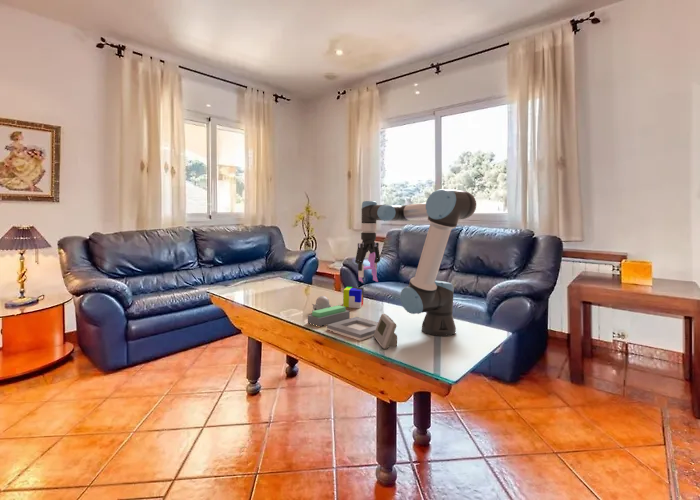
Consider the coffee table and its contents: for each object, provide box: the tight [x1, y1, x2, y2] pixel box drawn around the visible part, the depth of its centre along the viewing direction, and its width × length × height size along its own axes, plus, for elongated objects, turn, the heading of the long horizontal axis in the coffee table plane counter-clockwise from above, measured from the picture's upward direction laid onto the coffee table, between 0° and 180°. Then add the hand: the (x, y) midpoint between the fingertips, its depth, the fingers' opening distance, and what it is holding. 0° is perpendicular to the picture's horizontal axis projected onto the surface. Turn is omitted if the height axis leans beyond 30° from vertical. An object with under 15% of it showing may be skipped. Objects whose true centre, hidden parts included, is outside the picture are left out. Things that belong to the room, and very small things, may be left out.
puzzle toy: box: [342, 286, 365, 309], centre depth 216 cm, size 10×10×10 cm
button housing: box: [307, 309, 351, 327], centre depth 183 cm, size 8×21×4 cm, turn 137°
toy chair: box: [357, 252, 379, 283], centre depth 189 cm, size 8×9×15 cm
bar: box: [311, 305, 347, 318], centre depth 183 cm, size 5×18×3 cm, turn 137°
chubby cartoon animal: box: [311, 295, 332, 312], centre depth 199 cm, size 7×12×8 cm, turn 140°
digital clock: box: [373, 313, 398, 350], centre depth 152 cm, size 16×9×11 cm, turn 178°
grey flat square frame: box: [326, 316, 379, 342], centre depth 169 cm, size 20×20×2 cm
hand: (367, 276), depth 189 cm, fingers closed on toy chair, 9 cm apart
